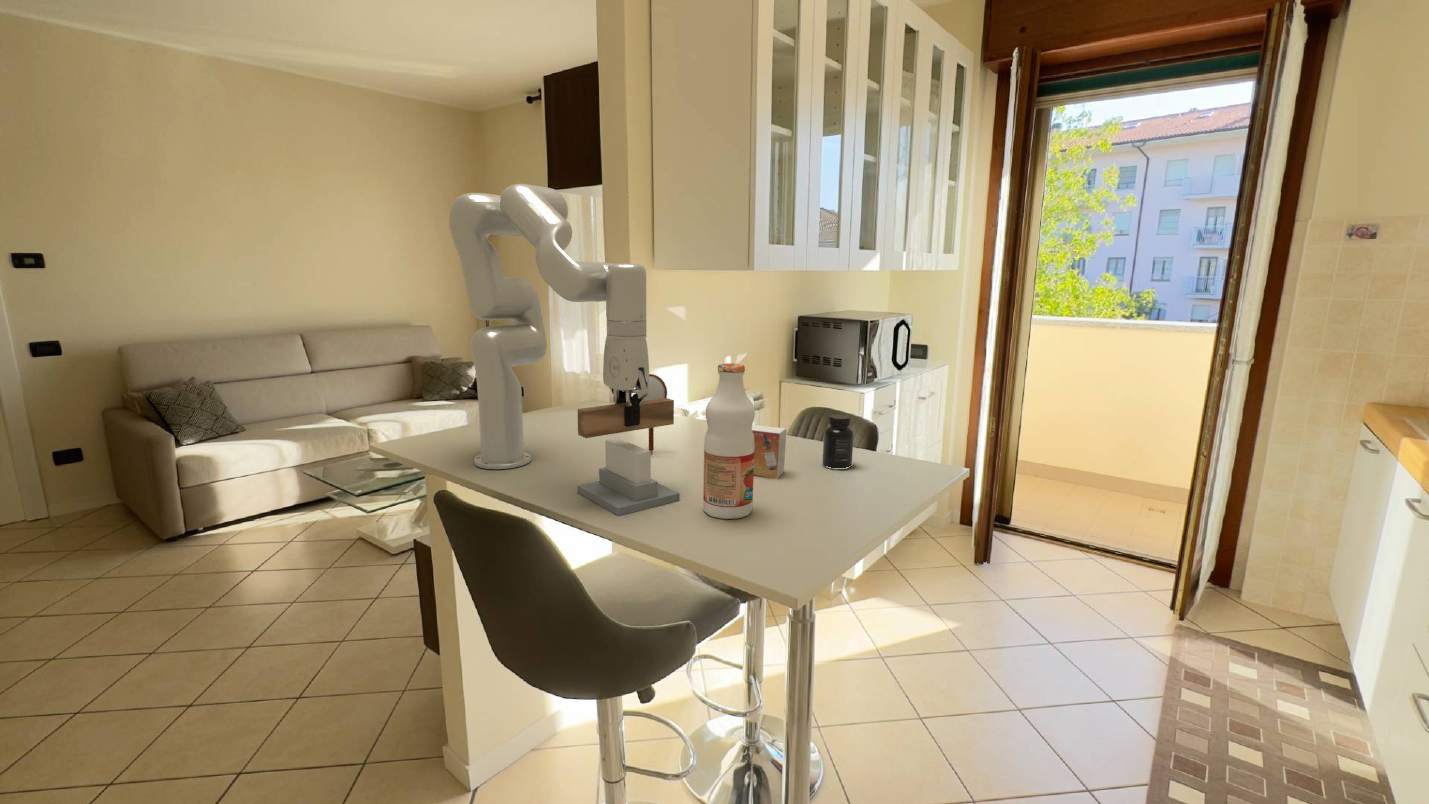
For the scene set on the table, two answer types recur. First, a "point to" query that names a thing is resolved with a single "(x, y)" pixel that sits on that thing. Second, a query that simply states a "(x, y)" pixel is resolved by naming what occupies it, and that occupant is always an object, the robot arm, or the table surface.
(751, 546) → the table surface
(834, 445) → the supplement bottle
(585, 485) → the ridge stand
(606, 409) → the walnut bar
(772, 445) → the small box
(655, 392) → the magnifying glass
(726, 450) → the fruit juice
